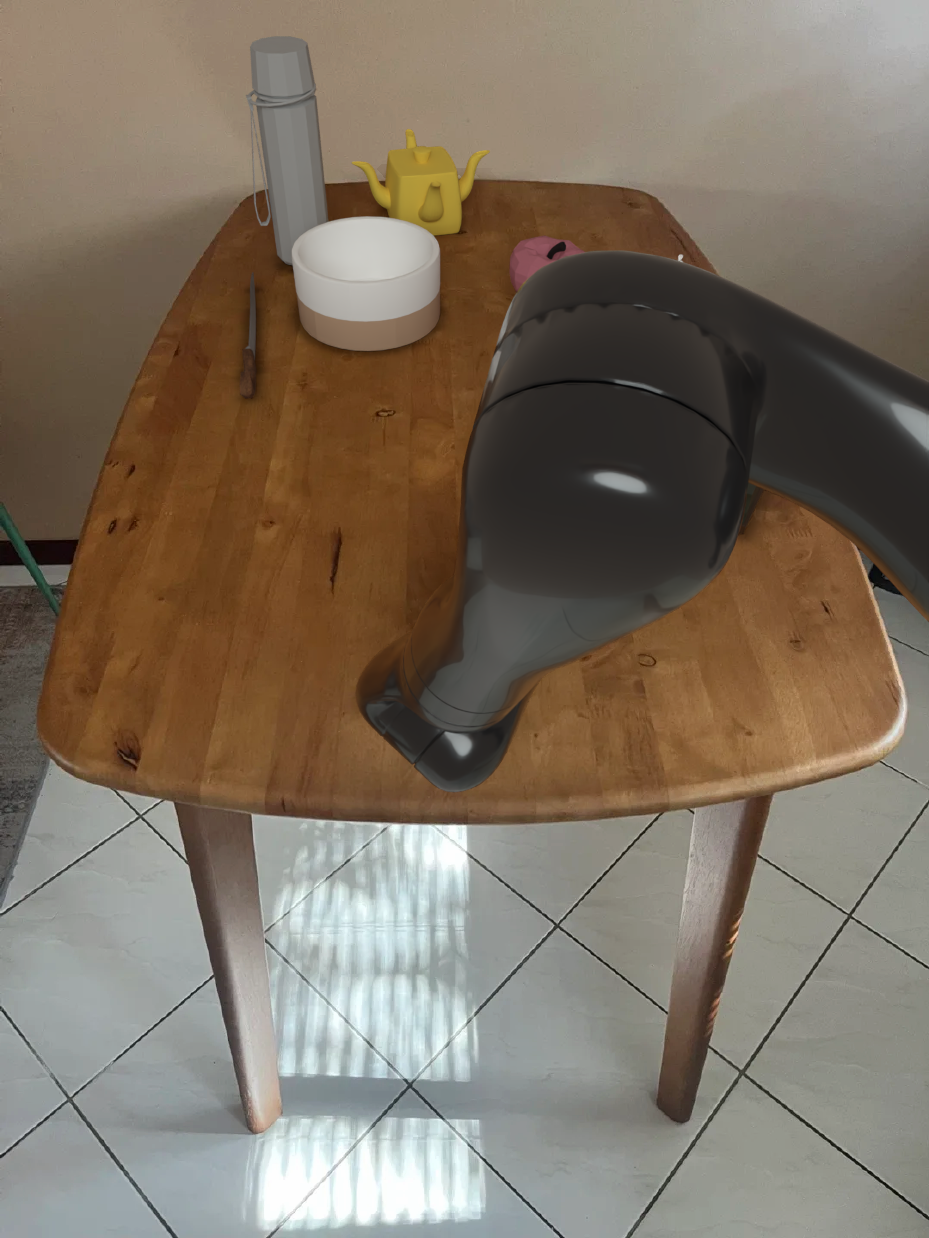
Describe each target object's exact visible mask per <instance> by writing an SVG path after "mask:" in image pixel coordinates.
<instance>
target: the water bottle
mask: <svg viewBox="0 0 929 1238" xmlns="http://www.w3.org/2000/svg"><path fill="white" fill-rule="evenodd" d="M249 52H250V53H249V55H250V71H251V73H250V74H251V88H252V90H251V91H250V92H249V93H248V94H245V98H246V101H247V103H248V107H249V110H250V130H251V131H250V132H251V155H252V156H251V157H252V159H251V161H252V182H253V183H252V185H253V203H254V204H253V205H254V209H255V213H256V218H257V220H258V223H259V225H260V227H266V226H269V223H270V222H271V220H272V227H273V234H274V241H275V249H276V256H277V257H279V259H280V260H281V261H282V262H284V264H285V265H289V266H292V267H293V263H292V248H293V245H294V243H295V242H296V240H297V239H298V238H299V237H300V236H301V235H302V234H304V233H305V232H306V231H308V230H310V229H312V228H314V227H316V226H318V225H321V224H324V223H326V222H329V214H328V201H327V191H326V181H325V171H324V162H323V151H322V140H321V131H320V120H319V111H318V100H317V99H318V98H317V95H316V91H317V84H316V81H315V76H314V71H313V65H312V60H311V55H310V49H309V44H308V41H305V39H303V38H300V37H295V36H289V35H288V36H287V35H273V36H267V37H262V38H259V39H257V40H254V41H252V42H251V44H250V46H249ZM254 95H255V96H256V99H255V100H253V97H252V96H254ZM254 106H256V113H257V121H258V128H259V135H260V141H261V149H262V155H261V150H260V144H259V139H258V133H257V129H256V122H255V118H254V117H255V116H254V111H255V108H254ZM253 129H254V131H253ZM254 134H255V139H256V144H257V145H256V146H257V151H258V158H259V164H260V170H261V175H262V181H263V187H264V193H265V194H264V195H265V200H266V204H267V205H266V206H267V212H268V215H267V218H266V220H265V221H261V218H260V217H259V212H258V208H257V199H256V196H257V195H256V177H255V176H256V175H255V154H254V153H255V152H254ZM262 156H263V162H262ZM263 163H264V166H263ZM263 167H264V168H263ZM264 169H265V173H264ZM265 177H266V179H265Z"/></svg>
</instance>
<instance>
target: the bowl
mask: <svg viewBox="0 0 929 1238" xmlns="http://www.w3.org/2000/svg"><path fill="white" fill-rule="evenodd" d="M292 263H293V266H292V269H293V270H292V271H293V278H294V279H293V280H294V286H295V293H296V298H297V306H298V315H299V321H300V324H301V326H302V327H303V329H304V330H305V332H307V334H308V335H309V336H311V337H312V338H314V339H315V340H317V341H318V342H321V343H323V344H325V345H327V346H329V347H330V346H331V347H334V348H337V349H342V350H349V351H354V352H355V351H356V352H357V351H360V352H373V351H376V352H377V351H385V350H391V349H392V350H393V349H397V348H401V347H404V346H407V345H410V344H413V343H415V342H416V341H419V340H421V339H422V338H424V337H425V336H428V335H429V334H430V333H431V331H433V330H434V328H435V327H436V326H437V324H438V322H439V321H440V315H441V248H440V245H439V241H438V240H437V238H436V237H435V236H433V235H432V234H431V233H430V232H428V231H427V230H426V229H424V228H422V227H420V226H418V225H416V224H413V223H410V222H407V221H403V220H399V219H394V218H389V217H386V216H369V215H368V216H352V217H345V218H339V219H334V220H330V221H328V222H326V223H324V224H321V225H318V226H316V227H314V228H312V229H310V230H308V231H306V232H305V233H304V234H302V235H301V236H300V237H299V238H298V239H297V240H296V242H295V243H294V245H293V248H292Z"/></svg>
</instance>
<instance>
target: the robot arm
mask: <svg viewBox="0 0 929 1238" xmlns="http://www.w3.org/2000/svg"><path fill="white" fill-rule="evenodd" d="M681 261H682V260H680V261H678V259H674V258H670V257H665V256H661V255H657V254H650V253H644V252H638V251H633V250H621V249H620V250H590V251H584V253H580V254H575V255H570V256H565V257H563V258H561V259H559V260H556V261H554V262H552V263H550V264H547V265H545V266H543V267H541V268H540V269H539V270H537V271H536V272H535V273H534V274H533V275H532V276H530V277H529V278H528V279H527V280H526V281H525V282H524V283H523V284H522V285H521V287H520V288H519V289H518V291H517V292H516V291H515V294H514V295H513V298H512V300H511V301H510V304H509V306H508V308H507V311H506V313H505V316H504V319H503V321H502V325H501V328H500V330H499V334H498V337H497V341H496V345H495V348H494V353H493V355H492V358H491V361H490V364H489V365H490V366H489V369H488V373H487V376H486V379H485V382H484V383H485V384H484V387H483V390H482V393H481V396H480V400H479V404H478V407H477V411H476V415H475V418H474V421H473V425H472V430H471V432H470V435H469V438H468V442H467V445H466V450H465V455H464V459H463V464H462V469H461V485H460V505H459V506H460V507H459V518H458V532H457V545H456V546H457V547H456V557H455V567H454V575H452V576H450V577H449V578H447V579H446V580H445V581H444V582H442V583H441V584H440V585H439V586H438V587H437V588H436V589H435V590H433V592H432V593H431V595H430V596H429V597H428V599H427V601H426V602H425V603H424V604H423V607H422V609H421V610H420V612H419V614H418V616H417V619H416V620H415V623H414V625H413V627H412V629H411V631H409V632H407V633H404V634H403V635H401V636H399V637H398V638H396V639H395V640H393V641H391V642H390V643H388V644H387V645H385V646H384V647H383V648H382V649H380V650H379V651H378V652H377V653H376V654H374V656H373V657H372V658H371V659H370V661H368V662H367V664H366V665H365V667H364V668H363V670H362V672H361V673H360V674H359V677H358V679H357V682H356V685H355V692H354V693H355V694H354V695H355V702H356V706H357V708H358V711H359V713H360V715H361V716H362V718H363V719H364V720H365V722H366V723H367V724H368V725H369V726H370V727H371V728H372V730H374V731H375V732H376V733H377V734H378V735H379V736H380V737H382V739H383V740H384V741H386V742H387V743H388V745H390V747H392V748H393V749H394V750H395V751H396V752H397V753H398V754H400V755H401V756H402V757H403V759H405V761H407V762H408V763H409V764H411V765H412V766H413V768H414V769H415V770H416V771H417V772H418V773H419V774H420V775H421V776H422V777H423V778H425V779H426V780H427V781H428V782H429V784H431V785H432V786H434V787H436V788H437V789H438V790H441V791H444V792H448V793H459V792H461V793H463V792H466V791H469V790H472V789H474V788H477V787H478V786H480V785H482V784H483V783H484V782H485V781H486V780H488V779H489V778H490V777H491V776H492V775H493V774H494V773H495V772H496V770H497V769H498V768H499V766H500V765H501V763H502V762H503V760H504V759H505V757H506V755H507V753H508V751H509V749H510V747H511V745H512V743H513V741H514V738H515V735H516V733H517V731H518V728H519V726H520V724H521V721H522V718H523V716H524V713H525V711H526V709H527V707H528V705H529V702H530V700H531V698H532V696H533V694H534V692H535V691H536V689H537V687H538V685H539V683H540V682H541V681H542V680H543V678H544V677H546V676H548V675H549V674H551V673H553V672H555V671H557V670H560V669H561V668H564V667H566V666H568V665H571V664H573V663H575V662H577V661H579V660H581V659H583V658H586V657H588V656H590V655H592V654H594V653H595V652H596V653H597V652H598V651H600V650H602V649H603V648H606V647H607V646H609V645H612V644H614V643H615V642H618V641H621V640H622V639H624V638H626V637H628V636H630V635H632V634H634V633H637V632H638V631H641V630H643V629H645V628H646V627H648V626H650V625H653V624H654V623H656V622H658V621H660V620H662V619H664V618H665V617H667V616H669V615H670V614H672V613H674V612H675V611H677V610H679V609H680V608H682V607H683V606H685V605H686V604H688V603H689V602H691V600H693V599H694V598H695V597H697V596H698V595H700V593H703V591H704V590H706V589H707V587H709V586H710V585H711V584H712V582H714V581H715V580H716V579H717V578H718V576H719V575H720V574H721V573H722V571H723V569H724V568H725V567H726V565H727V564H728V561H729V560H730V558H731V556H732V554H733V551H734V549H735V546H736V543H737V541H738V538H739V536H740V533H739V532H740V529H741V525H742V521H743V517H744V511H745V505H746V497H747V487H748V483H750V484H752V485H755V486H757V487H759V488H762V489H764V491H766V492H769V493H771V494H773V495H775V496H778V497H780V498H783V499H785V500H786V501H789V502H791V503H792V504H794V505H797V506H798V507H800V508H801V509H803V510H805V511H808V512H809V513H810V514H812V515H814V516H815V517H817V518H818V519H820V520H821V521H823V522H825V523H827V524H828V525H829V526H831V527H832V528H833V529H834V530H836V531H837V532H838V533H839V534H841V535H842V536H844V537H845V538H846V539H847V540H849V542H851V543H852V544H853V545H854V546H855V547H856V548H858V550H859V551H861V553H863V555H865V556H866V557H867V558H868V559H869V560H870V561H871V563H872V564H873V565H875V567H877V569H879V571H880V572H881V573H882V574H883V576H884V577H886V578H887V580H888V581H889V582H890V583H891V584H892V585H893V586H894V587H895V589H896V590H897V591H898V592H900V594H901V595H902V596H903V597H904V598H905V599H906V601H908V602H909V604H911V606H912V607H913V608H914V609H915V610H916V611H917V612H918V613H919V614H920V615H921V616H922V617H923V618H924V619H925V620H926V621H927V623H929V380H928V379H926V378H924V377H922V376H920V375H919V374H916V373H913V372H912V371H910V370H908V369H906V368H904V367H902V366H900V365H898V364H896V363H894V362H892V361H890V360H888V359H886V358H884V357H882V356H879V355H878V354H876V353H875V352H872V351H870V350H868V349H866V348H864V347H862V346H861V345H859V344H857V343H855V342H853V341H850V340H848V339H847V338H845V337H843V336H841V335H839V334H837V333H836V332H834V331H831V330H829V329H827V328H825V327H823V326H822V325H819V324H818V323H816V322H813V321H812V320H810V319H808V318H806V317H804V316H802V315H800V314H799V313H797V312H795V311H792V310H790V309H788V308H787V307H784V306H782V305H781V304H778V303H777V302H774V301H772V300H771V299H769V298H767V297H765V296H763V295H761V294H759V293H757V292H755V291H753V290H751V289H749V288H747V287H744V286H743V285H740V284H738V283H735V282H733V281H731V280H729V279H727V278H724V277H722V276H720V275H717V274H715V273H714V272H711V271H709V270H707V269H704V268H701V267H698V266H696V265H693V264H689V263H686V262H684V261H683V262H681Z"/></svg>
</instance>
